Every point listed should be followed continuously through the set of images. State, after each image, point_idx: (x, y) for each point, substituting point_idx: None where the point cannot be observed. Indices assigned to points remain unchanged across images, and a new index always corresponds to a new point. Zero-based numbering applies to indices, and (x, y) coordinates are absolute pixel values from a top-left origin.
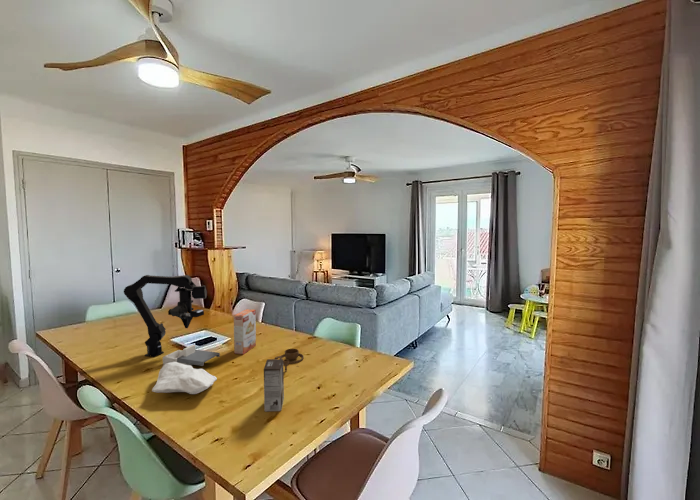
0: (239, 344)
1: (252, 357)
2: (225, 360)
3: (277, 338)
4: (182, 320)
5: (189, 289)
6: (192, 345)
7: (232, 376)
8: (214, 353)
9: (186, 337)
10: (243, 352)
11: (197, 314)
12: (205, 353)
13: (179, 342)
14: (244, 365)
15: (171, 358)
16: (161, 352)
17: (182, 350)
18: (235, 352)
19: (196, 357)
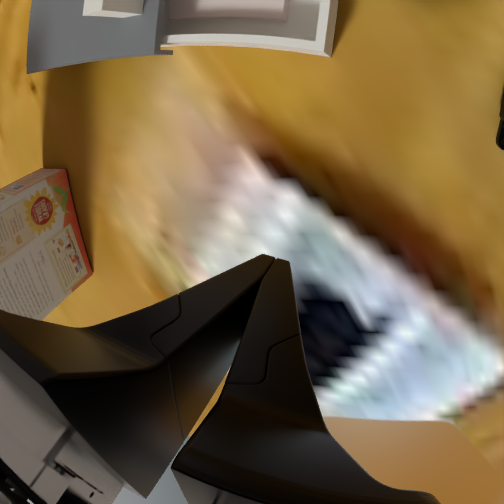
0: (15, 185)
1: (17, 150)
2: (57, 90)
3: (68, 321)
4: (285, 374)
5: None
6: (95, 1)
7: (5, 4)
8: (36, 54)
9: (442, 389)
10: (35, 171)
11: None
12: (65, 31)
13: (463, 331)
14: (5, 81)
15: None
16: (501, 111)
17: (275, 43)
18: (57, 170)
19: None
